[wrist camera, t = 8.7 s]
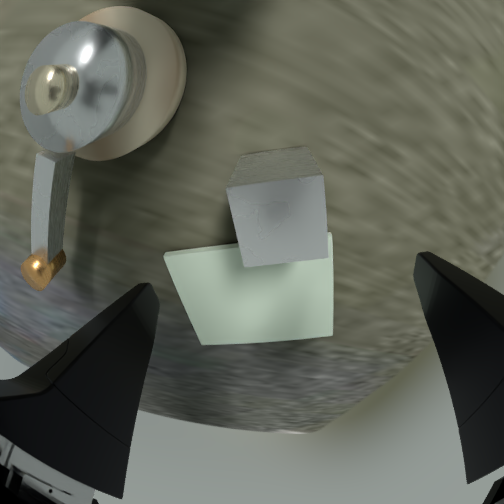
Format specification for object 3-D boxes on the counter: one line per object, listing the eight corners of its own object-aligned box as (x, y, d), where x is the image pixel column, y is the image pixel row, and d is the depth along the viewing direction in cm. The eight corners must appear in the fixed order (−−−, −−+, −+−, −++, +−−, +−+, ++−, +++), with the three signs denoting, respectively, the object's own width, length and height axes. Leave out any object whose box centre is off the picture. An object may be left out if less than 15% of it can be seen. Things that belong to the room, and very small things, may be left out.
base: (171, -10, 11) (160, -20, 9) (202, 131, 16) (193, 136, 14) (50, 51, 12) (32, 52, 10) (78, 169, 17) (62, 178, 16)
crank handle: (74, 20, 9) (23, 15, 6) (168, 41, 11) (126, 27, 7) (31, 239, 18) (-2, 271, 14) (94, 276, 20) (66, 317, 16)
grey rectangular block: (307, 146, 16) (323, 175, 11) (313, 206, 18) (328, 257, 13) (241, 155, 17) (225, 188, 11) (253, 214, 19) (244, 267, 14)
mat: (330, 231, 19) (332, 236, 18) (331, 330, 24) (332, 335, 24) (165, 252, 21) (163, 256, 20) (202, 340, 26) (201, 344, 25)
